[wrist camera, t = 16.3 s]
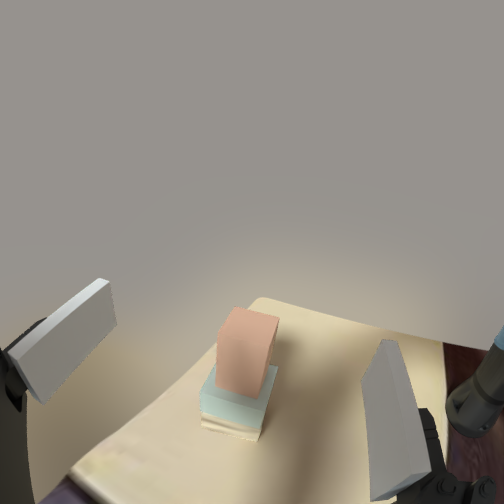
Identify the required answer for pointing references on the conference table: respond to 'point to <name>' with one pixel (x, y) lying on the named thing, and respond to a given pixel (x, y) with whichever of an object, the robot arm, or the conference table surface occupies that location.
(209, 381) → the tower upper block
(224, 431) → the tower base block
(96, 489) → the conference table surface
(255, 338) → the tall block
